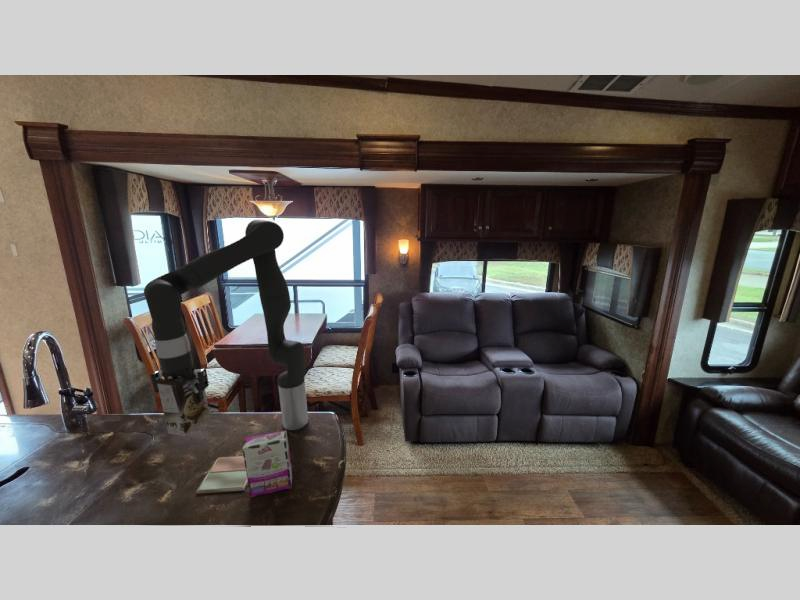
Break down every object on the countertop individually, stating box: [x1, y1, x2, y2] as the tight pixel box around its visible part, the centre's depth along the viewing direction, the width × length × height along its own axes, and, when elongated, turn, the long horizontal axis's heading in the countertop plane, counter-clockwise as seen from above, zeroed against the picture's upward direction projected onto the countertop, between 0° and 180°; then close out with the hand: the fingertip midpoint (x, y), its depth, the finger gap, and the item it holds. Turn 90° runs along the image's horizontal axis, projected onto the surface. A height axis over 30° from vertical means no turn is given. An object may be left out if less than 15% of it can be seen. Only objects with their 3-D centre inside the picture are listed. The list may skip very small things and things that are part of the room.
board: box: [195, 455, 248, 495], centre depth 95 cm, size 13×13×1 cm
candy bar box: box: [242, 429, 293, 498], centre depth 89 cm, size 11×5×16 cm, turn 106°
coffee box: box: [157, 374, 211, 437], centre depth 91 cm, size 9×6×16 cm
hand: (185, 403), depth 91 cm, fingers closed on coffee box, 7 cm apart
